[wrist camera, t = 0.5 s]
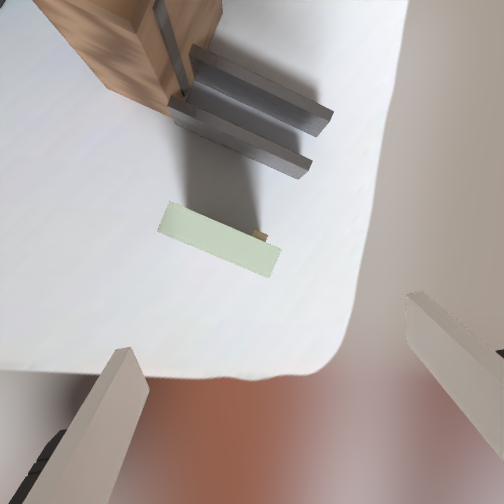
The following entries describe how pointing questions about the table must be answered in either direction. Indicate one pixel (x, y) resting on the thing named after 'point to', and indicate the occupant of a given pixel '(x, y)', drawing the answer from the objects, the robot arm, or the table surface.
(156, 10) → the walnut cabinet
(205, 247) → the cabinet door
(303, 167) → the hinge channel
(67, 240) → the table surface
